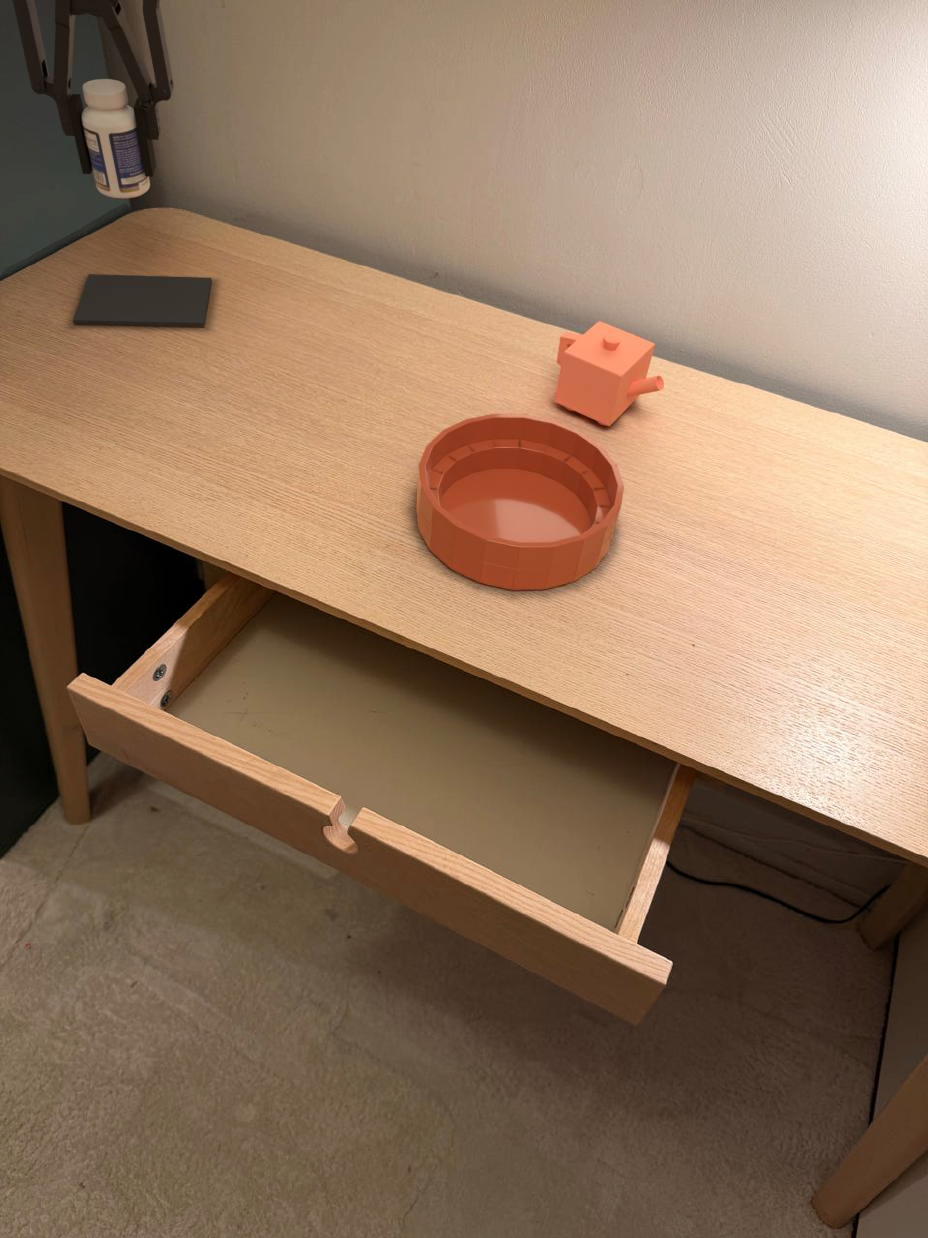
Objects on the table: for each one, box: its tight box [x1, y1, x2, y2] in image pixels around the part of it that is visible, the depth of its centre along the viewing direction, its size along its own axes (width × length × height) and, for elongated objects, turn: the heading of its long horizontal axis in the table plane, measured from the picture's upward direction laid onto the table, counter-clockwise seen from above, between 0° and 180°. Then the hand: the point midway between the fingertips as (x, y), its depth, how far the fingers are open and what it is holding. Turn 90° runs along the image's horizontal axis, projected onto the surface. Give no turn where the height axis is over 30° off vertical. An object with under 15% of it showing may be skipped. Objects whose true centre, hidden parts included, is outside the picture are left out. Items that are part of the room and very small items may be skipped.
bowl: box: [415, 413, 625, 591], centre depth 83 cm, size 18×18×6 cm
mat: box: [72, 273, 213, 328], centre depth 104 cm, size 14×10×1 cm
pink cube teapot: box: [553, 320, 665, 427], centre depth 95 cm, size 8×12×8 cm, turn 56°
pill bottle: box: [81, 78, 151, 199], centre depth 91 cm, size 5×5×10 cm
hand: (120, 168), depth 93 cm, fingers closed on pill bottle, 5 cm apart
